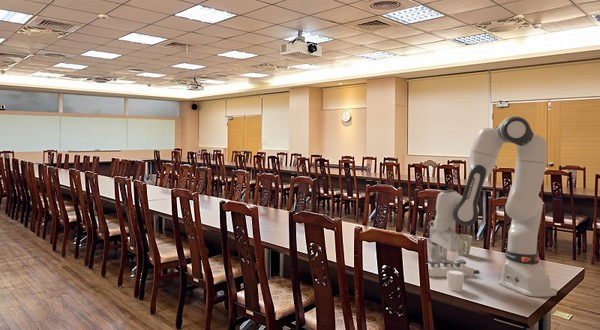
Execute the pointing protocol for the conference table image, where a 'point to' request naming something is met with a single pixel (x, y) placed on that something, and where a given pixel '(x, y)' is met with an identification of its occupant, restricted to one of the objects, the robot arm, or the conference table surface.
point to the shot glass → (455, 280)
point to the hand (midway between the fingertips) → (442, 255)
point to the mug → (464, 244)
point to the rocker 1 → (433, 262)
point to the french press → (436, 253)
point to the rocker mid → (446, 262)
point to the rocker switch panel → (442, 269)
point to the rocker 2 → (459, 262)
